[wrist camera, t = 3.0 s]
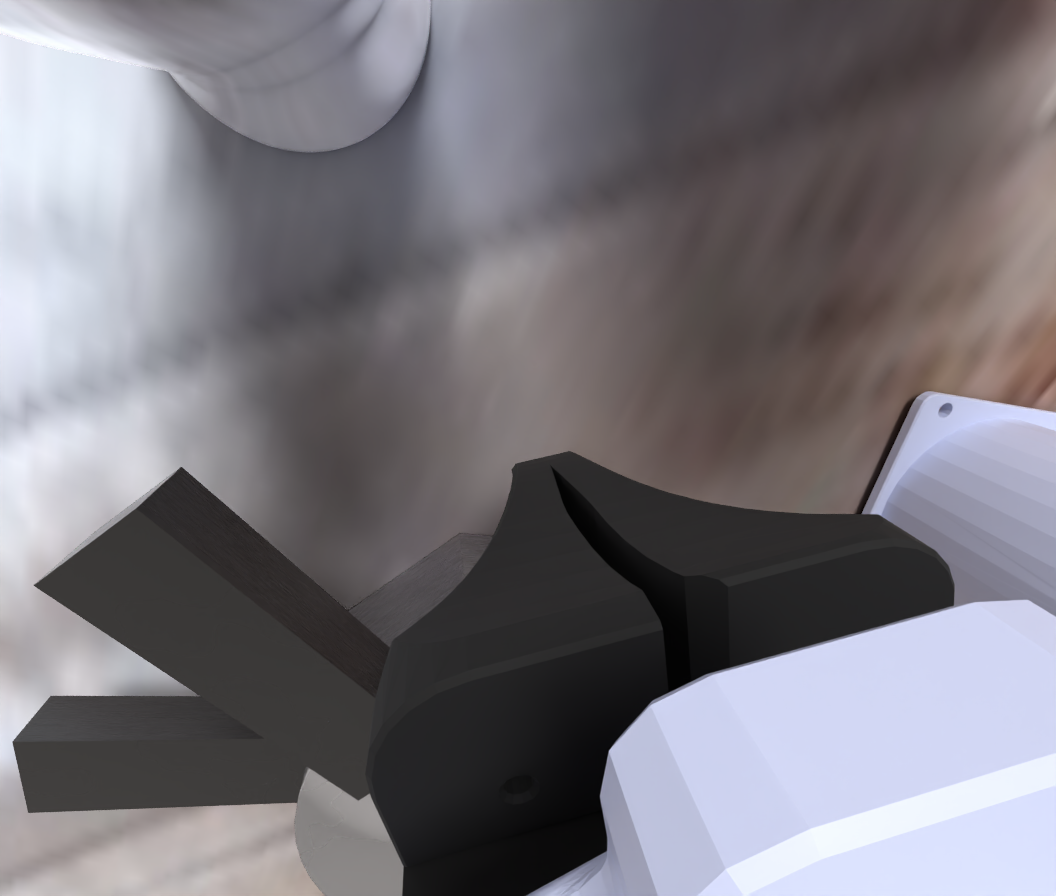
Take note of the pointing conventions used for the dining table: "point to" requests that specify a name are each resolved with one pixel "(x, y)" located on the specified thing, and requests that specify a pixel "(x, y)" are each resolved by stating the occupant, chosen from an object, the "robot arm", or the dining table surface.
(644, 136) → the dining table surface
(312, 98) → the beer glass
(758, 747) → the robot arm
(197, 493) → the lid
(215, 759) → the pot
